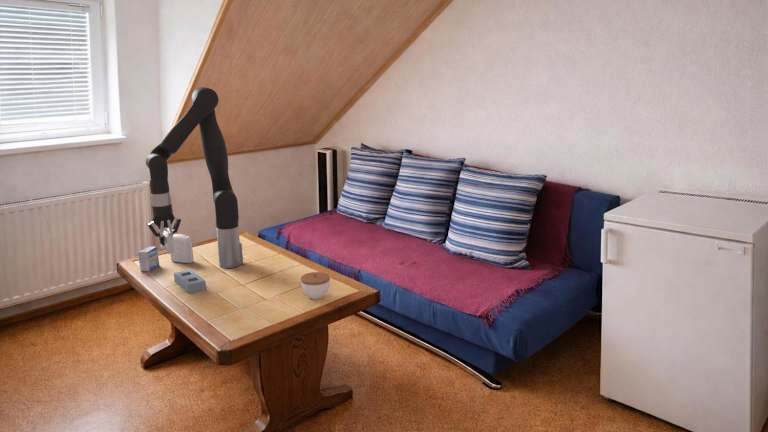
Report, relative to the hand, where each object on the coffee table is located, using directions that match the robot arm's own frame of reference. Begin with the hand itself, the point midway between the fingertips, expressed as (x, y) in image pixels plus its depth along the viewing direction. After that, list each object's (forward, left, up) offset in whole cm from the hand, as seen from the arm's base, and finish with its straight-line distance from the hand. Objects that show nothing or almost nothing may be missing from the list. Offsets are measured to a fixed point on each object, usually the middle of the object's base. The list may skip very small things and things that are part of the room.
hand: (166, 244), depth 256 cm
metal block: (0, 0, -3) cm, 3 cm away
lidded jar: (-37, +55, -14) cm, 68 cm away
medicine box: (+4, -14, -14) cm, 20 cm away
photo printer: (-10, -14, -14) cm, 22 cm away
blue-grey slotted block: (-3, +15, -13) cm, 21 cm away
